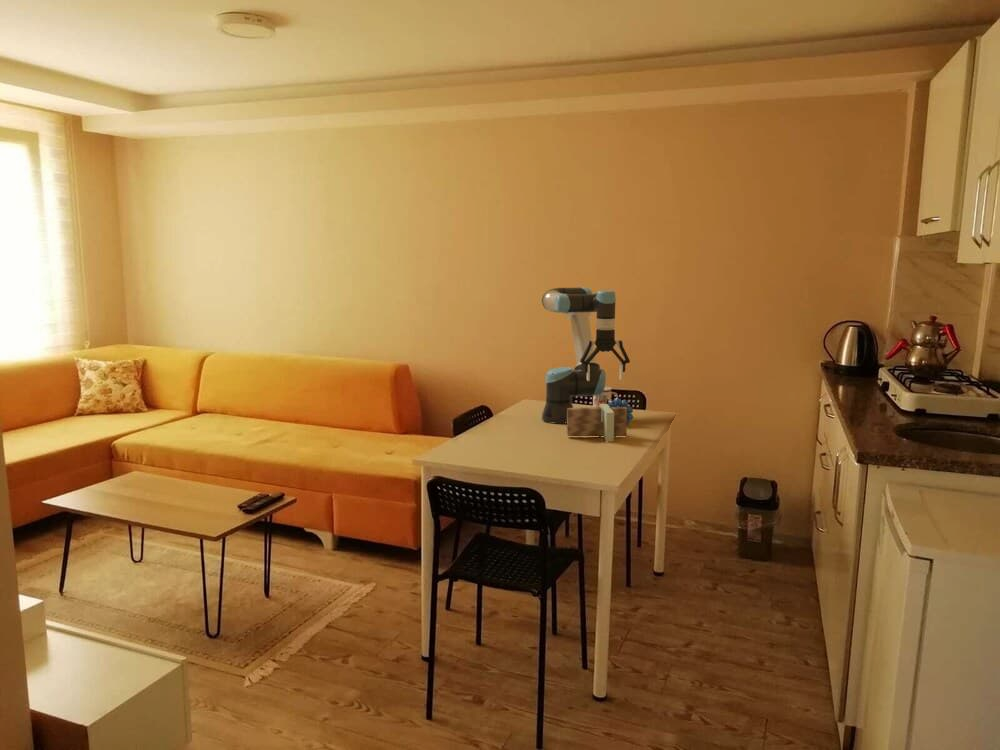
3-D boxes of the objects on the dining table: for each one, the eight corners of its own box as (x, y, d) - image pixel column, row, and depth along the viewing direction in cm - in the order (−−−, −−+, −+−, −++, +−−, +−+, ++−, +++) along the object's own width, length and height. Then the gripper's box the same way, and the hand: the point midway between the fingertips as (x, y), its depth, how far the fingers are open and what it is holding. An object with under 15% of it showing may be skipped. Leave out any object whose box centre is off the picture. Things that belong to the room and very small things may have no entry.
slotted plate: (599, 431, 305) (599, 403, 303) (606, 431, 305) (606, 403, 303) (606, 442, 290) (606, 412, 288) (613, 441, 290) (614, 412, 288)
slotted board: (567, 438, 296) (568, 409, 293) (566, 436, 299) (567, 407, 296) (626, 437, 296) (627, 408, 294) (624, 435, 299) (625, 407, 297)
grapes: (604, 426, 314) (605, 399, 312) (607, 422, 321) (608, 396, 319) (631, 428, 311) (632, 400, 308) (633, 424, 317) (634, 397, 315)
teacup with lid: (591, 408, 349) (592, 384, 347) (593, 404, 357) (593, 381, 355) (616, 409, 346) (617, 385, 344) (618, 405, 355) (618, 381, 353)
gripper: (576, 330, 292) (575, 382, 295) (637, 329, 292) (636, 381, 296) (573, 328, 299) (573, 378, 303) (633, 327, 300) (632, 377, 304)
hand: (604, 380), depth 300 cm, fingers open, 13 cm apart
